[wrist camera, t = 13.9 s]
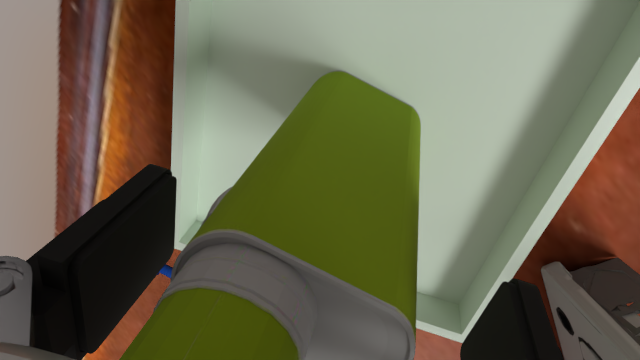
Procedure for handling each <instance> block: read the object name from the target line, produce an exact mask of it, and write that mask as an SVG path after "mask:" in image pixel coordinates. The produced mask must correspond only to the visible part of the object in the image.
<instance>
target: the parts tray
mask: <svg viewBox="0 0 640 360" xmlns="http://www.w3.org/2000/svg"><path fill="white" fill-rule="evenodd" d="M337 70H340V71H346V72H348V73H350V74H352V75H354V76H356V77H358V78H360V79H361V80H363V81H365V82H367V83H369V84H371V85H373V86H375V87H377V88H379V89H381V90H382V91H384V92H386V93H388V94H390V95H392V96H394V97H396V98H398V99H400V100H402V101H403V102H405V103H407V104H409V105H411V106H413V107H414V108H415V110H416V111H417V112H418V114H419V117H420V121H421V139H420V180H419V220H418V261H417V302H416V328H418V329H421V330H424V331H427V332H430V333H433V334H436V335H439V336H442V337H445V338H448V339H451V340H455V341H458V342H461V343H463V342H464V340H465V338H466V337H467V335H468V334H469V332H470V331H471V329H472V328H473V326H474V325H475V323H476V322H477V320H478V319H479V317H480V316H481V314H482V312H483V311H484V309H485V308H486V306H487V305H488V303H489V302H490V300H491V299H492V297H493V296H494V294H495V293H496V291H497V290H498V288H499V286H500V285H501V284H502V282H504V281H506V282H509V281H510V280H511V279H512V278H513V276H514V275H515V273H516V272H517V270H518V269H519V267H520V266H521V264H522V263H523V262H524V260H525V259H526V257H527V256H528V254H529V253H530V251H531V250H532V248H533V247H534V245H535V244H536V242H537V241H538V239H539V238H540V236H541V235H542V233H543V232H544V230H545V229H546V227H547V226H548V224H549V223H550V221H551V220H552V218H553V217H554V215H555V214H556V212H557V211H558V209H559V208H560V206H561V205H562V203H563V202H564V200H565V199H566V197H567V196H568V194H569V193H570V191H571V190H572V188H573V187H574V185H575V184H576V182H577V181H578V179H579V178H580V176H581V175H582V173H583V172H584V170H585V169H586V167H587V166H588V164H589V163H590V161H591V160H592V158H593V157H594V155H595V154H596V152H597V151H598V149H599V148H600V146H601V145H602V143H603V142H604V140H605V139H606V137H607V136H608V134H609V133H610V131H611V130H612V128H613V127H614V125H615V124H616V122H617V121H618V119H619V118H620V116H621V115H622V113H623V112H624V110H625V109H626V107H627V106H628V104H629V103H630V101H631V100H632V98H633V97H634V95H635V94H636V92H637V91H638V89H639V88H640V0H176V9H175V45H174V80H173V115H172V151H171V172H172V176H174V177H176V179H177V188H176V215H175V241H174V248H175V249H178V250H181V251H182V250H183V249H184V248H185V247H186V245H187V244H188V243H189V241H190V240H191V239H192V238H193V236H194V235H195V234H196V233H197V231H198V230H199V229H200V227H201V225H202V223H203V221H204V220H205V218H206V216H207V214H208V212H209V210H210V208H211V206H212V205H213V203H214V202H215V201H216V199H217V198H218V197H219V196H220V195H221V194H222V193H224V192H225V191H226V190H227V189H229V188H230V187H233V186H234V184H235V183H236V182H237V181H238V179H239V178H240V177H241V175H242V174H243V173H244V172H245V170H246V169H247V168H248V167H249V165H250V164H251V163H252V162H253V160H254V159H255V158H256V156H257V155H258V154H259V153H260V151H261V150H262V149H263V148H264V146H265V145H266V144H267V143H268V141H269V140H270V139H271V137H272V136H273V135H274V134H275V132H276V131H277V130H278V129H279V127H280V126H281V125H282V123H283V122H284V121H285V120H286V118H287V117H288V116H289V115H290V113H291V112H292V111H293V110H294V108H295V107H296V106H297V104H298V103H299V102H300V101H301V99H302V98H303V97H304V96H305V94H306V93H307V92H308V91H309V89H310V88H311V87H312V85H313V84H314V83H315V82H316V81H317V80H318V79H319V78H320V77H322V76H323V75H325V74H326V73H329V72H331V71H337Z"/></svg>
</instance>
